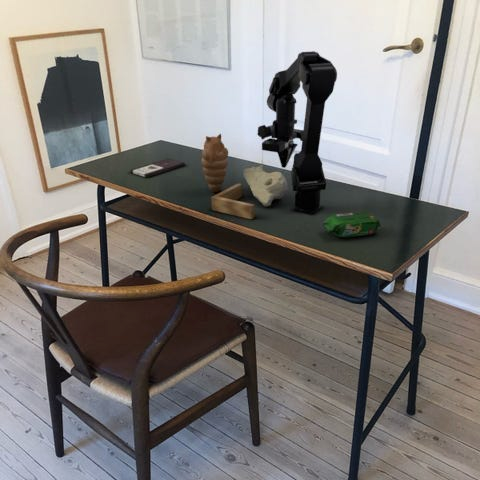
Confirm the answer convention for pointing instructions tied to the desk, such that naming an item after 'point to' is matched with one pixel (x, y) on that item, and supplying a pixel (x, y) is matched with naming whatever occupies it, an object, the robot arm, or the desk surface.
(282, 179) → the pale lumpy rock
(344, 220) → the snack package
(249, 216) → the corner stop
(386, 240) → the desk surface
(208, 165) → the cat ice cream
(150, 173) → the chocolate bar
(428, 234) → the desk surface
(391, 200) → the desk surface
